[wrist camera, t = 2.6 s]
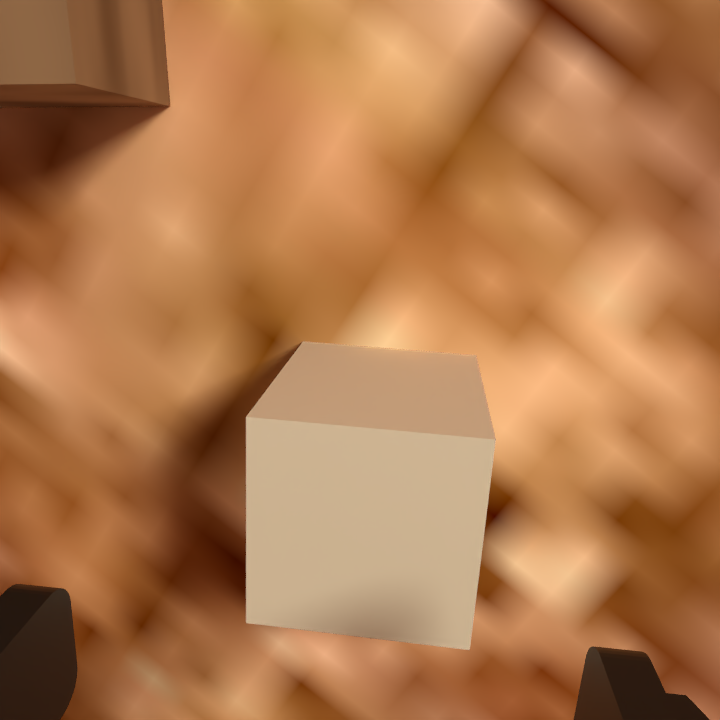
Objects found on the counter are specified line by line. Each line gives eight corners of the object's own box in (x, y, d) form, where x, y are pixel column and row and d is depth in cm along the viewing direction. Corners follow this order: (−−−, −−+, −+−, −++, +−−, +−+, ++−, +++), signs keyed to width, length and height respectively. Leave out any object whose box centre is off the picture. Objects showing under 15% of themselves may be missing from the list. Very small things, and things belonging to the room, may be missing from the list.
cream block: (476, 354, 18) (496, 439, 12) (459, 510, 20) (469, 649, 14) (303, 340, 19) (245, 416, 13) (299, 494, 20) (245, 623, 14)
